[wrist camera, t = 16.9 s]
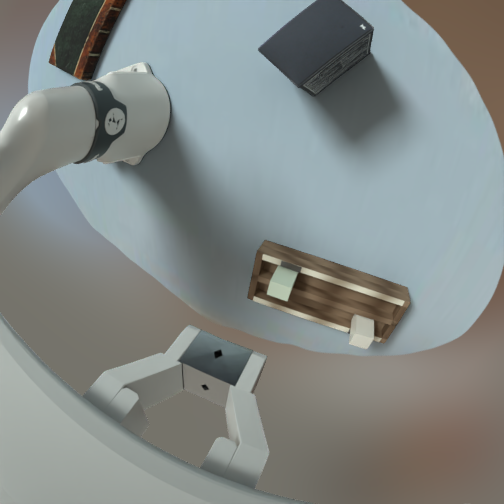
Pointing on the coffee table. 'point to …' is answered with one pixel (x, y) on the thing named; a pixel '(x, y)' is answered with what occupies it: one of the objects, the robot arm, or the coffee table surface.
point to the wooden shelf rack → (328, 291)
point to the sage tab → (282, 283)
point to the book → (84, 36)
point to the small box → (319, 44)
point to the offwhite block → (361, 331)
